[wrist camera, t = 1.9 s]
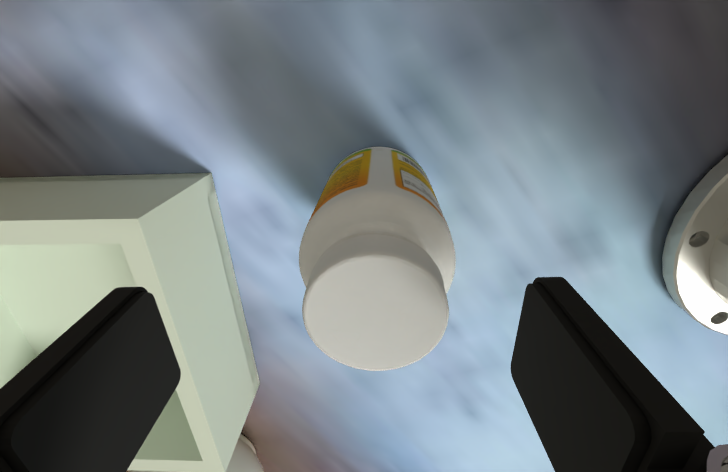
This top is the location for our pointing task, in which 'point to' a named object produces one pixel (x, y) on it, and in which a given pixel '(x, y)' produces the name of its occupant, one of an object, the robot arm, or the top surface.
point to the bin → (133, 269)
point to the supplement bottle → (377, 263)
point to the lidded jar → (239, 458)
